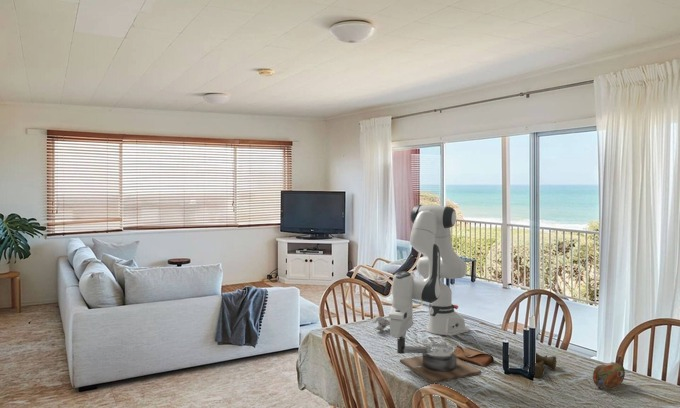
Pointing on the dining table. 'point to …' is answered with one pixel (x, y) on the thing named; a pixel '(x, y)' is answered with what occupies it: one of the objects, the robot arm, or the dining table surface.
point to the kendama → (543, 361)
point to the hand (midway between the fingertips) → (402, 342)
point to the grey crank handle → (427, 349)
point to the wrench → (381, 323)
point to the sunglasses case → (473, 356)
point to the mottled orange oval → (608, 375)
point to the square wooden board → (439, 368)
